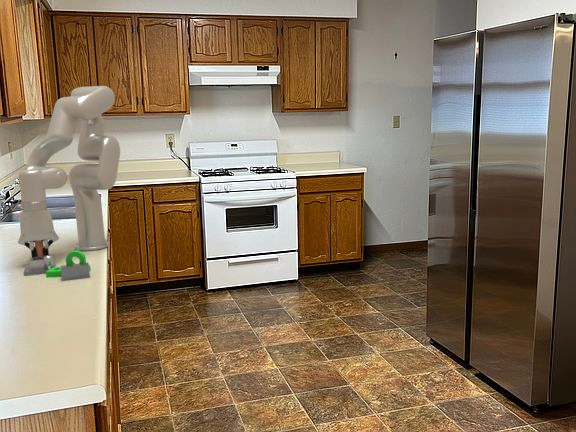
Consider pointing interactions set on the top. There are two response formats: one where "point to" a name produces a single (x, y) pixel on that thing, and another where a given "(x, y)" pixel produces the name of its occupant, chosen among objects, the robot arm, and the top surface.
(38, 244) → the peach peg
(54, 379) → the top surface
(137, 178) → the top surface
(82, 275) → the block
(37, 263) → the metal square socket base
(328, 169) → the top surface
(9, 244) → the top surface
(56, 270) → the mechanical part
